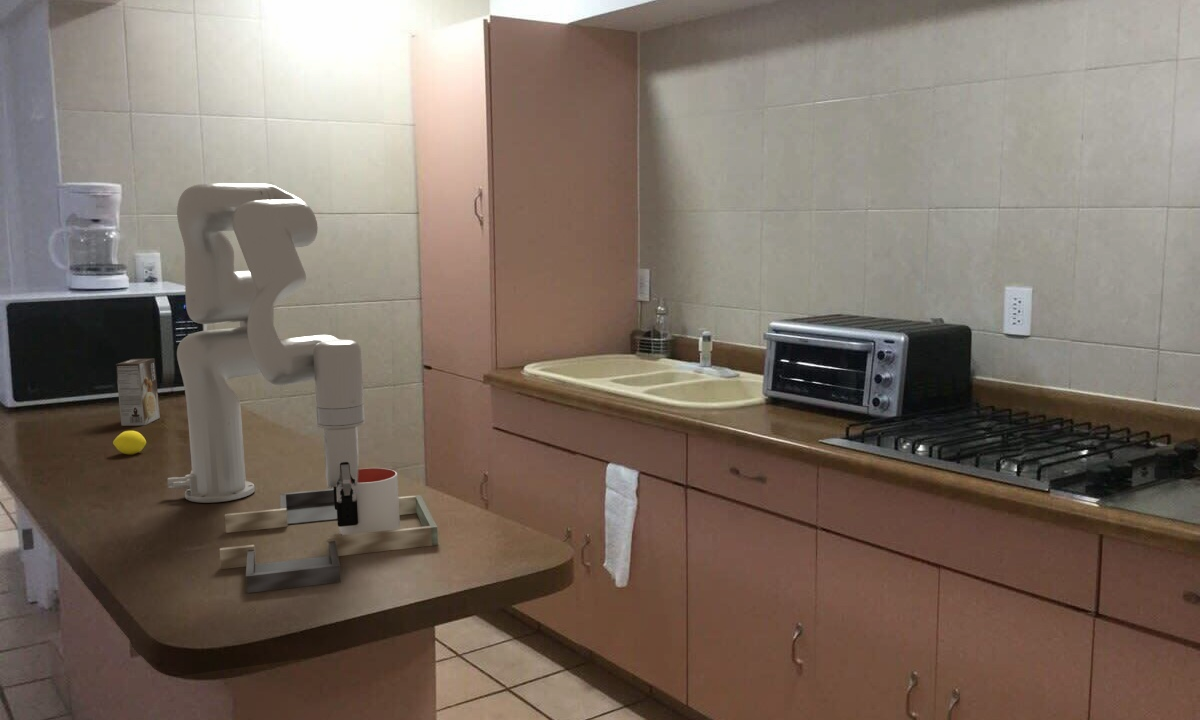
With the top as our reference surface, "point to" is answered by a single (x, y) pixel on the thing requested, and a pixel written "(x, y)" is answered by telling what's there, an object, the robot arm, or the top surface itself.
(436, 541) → the box
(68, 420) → the top surface
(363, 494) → the cup
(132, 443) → the lemon
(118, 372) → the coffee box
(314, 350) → the robot arm
